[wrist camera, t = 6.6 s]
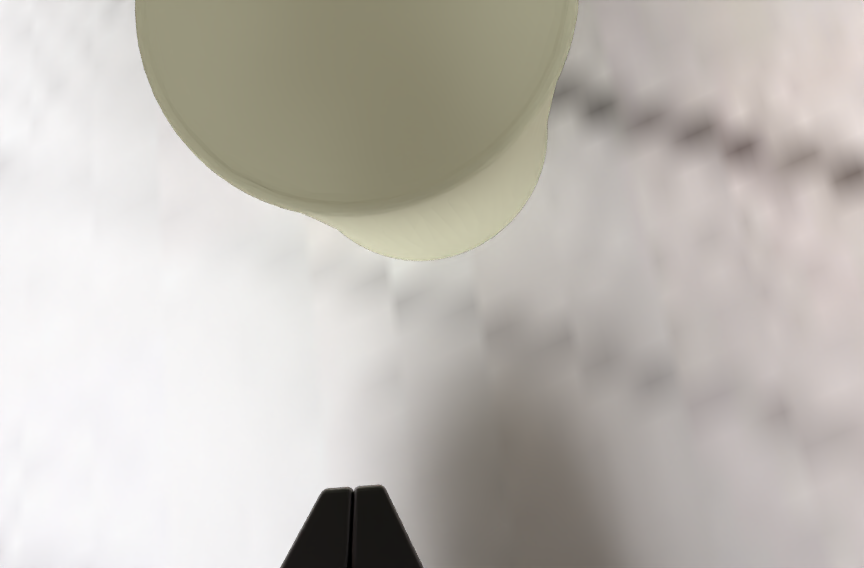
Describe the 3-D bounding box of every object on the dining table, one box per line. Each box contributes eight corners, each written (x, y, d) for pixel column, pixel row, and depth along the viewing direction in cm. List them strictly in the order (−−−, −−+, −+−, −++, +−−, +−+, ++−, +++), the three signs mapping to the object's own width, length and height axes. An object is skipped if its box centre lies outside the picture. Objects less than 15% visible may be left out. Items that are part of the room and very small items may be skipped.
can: (553, 15, 24) (598, -266, 12) (540, 267, 24) (574, 225, 12) (307, 13, 25) (132, -248, 14) (292, 255, 25) (100, 206, 13)
